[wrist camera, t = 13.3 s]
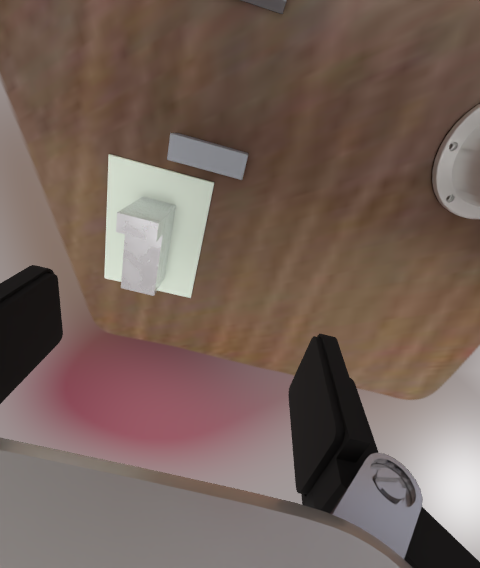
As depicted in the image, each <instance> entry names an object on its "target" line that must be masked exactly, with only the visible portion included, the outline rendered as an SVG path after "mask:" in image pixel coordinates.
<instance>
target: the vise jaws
mask: <svg viewBox="0 0 480 568" xmlns="http://www.w3.org/2000/svg"><path fill="white" fill-rule="evenodd" d="M241 1H244V2H248V3H251V4H254V5H257V6H260V7H263V8H266V9H269V10H272V11H275V12H278V13H281V14H283V11H284V7H285V3H286V0H241ZM247 158H248V153H247V152H243V151H240V150H236V149H233V148H229V147H226V146H222V145H219V144H215V143H211V142H208V141H204V140H201V139H197V138H194V137H190V136H187V135H183V134H180V133H170V141H169V149H168V157H167V160H171V161H174V162H178V163H182V164H185V165H189V166H193V167H196V168H200V169H203V170H207V171H211V172H214V173H218V174H222V175H225V176H229V177H233V178H236V179H240V180H242V178H243V174H244V170H245V166H246V162H247Z"/></svg>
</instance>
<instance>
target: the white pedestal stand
mask: <svg viewBox="0 0 480 568" xmlns="http://www.w3.org/2000/svg"><path fill="white" fill-rule="evenodd" d="M175 210H176V205H173V204H169V203H166V202H162V201H158V200H154V199H151V198H147V197H141V198H139V199H138V200H136V201H135V202H133V203H131V204H130V205H128V206H127V207H125V208H123V209H122V210H120V211H119V212H117V222H116V232H118V233H122V234H125V239H124V252H123V265H122V279H121V288H123V289H127V290H131V291H136V292H140V293H144V294H148V295H153V296H154V295H155V294H156V292H157V290H158V288H159V287H160V285H161V283H162V281H163V280H164V278H165V274H166V267H167V261H168V254H169V248H170V242H171V235H172V229H173V222H174V216H175Z"/></svg>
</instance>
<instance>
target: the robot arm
mask: <svg viewBox="0 0 480 568" xmlns="http://www.w3.org/2000/svg"><path fill="white" fill-rule="evenodd" d="M449 145H450V147H449ZM432 183H433V189H434V193H435V195H436V197H437V199H438V201H439V202H440V203H441V205H442V206H443V207H444V208H445V209H447V210H448V211H450V212H451V213H453V214H456V215H458V216H461V217H464V218H468V219H480V104H478V105H477V106H476V107H474V108H473V109H471V110H470V111H469V112H467V113H466V114H465V115H464V116H463V117H462V118H461V119H460V120H459V121H458V122H457V123H456V124H455V125H454V126H453V128H452V129H451V130H450V132H449V133H448V134H447V136H446V137H445V139H444V141H443V142H442V144H441V146H440V148H439V150H438V153H437V156H436V158H435V162H434V166H433V172H432ZM62 335H63V331H62V320H61V309H60V298H59V287H58V278H57V276H56V275H55V274H54V273H53V271H52V270H51V269H48V268H43V267H40V266H34V265H32V266H29V267H28V268H26V269H24V270H23V271H21V272H19V273H17V274H16V275H14V276H13V277H11V278H9V279H7V280H6V281H4V282H2V283H0V404H1V403H2V402H3V400H4V399H5V398H6V397H7V396H8V395H9V394H10V393H11V392H12V391H13V390H14V389H15V388H16V387H17V386H18V385H19V384H20V383H21V382H22V381H23V380H24V378H25V377H27V376H28V374H29V373H30V372H31V371H32V370H33V369H34V368H35V367H36V366H37V365H38V364H39V363H40V362H41V361H42V360H43V359H44V358H45V357H46V356H47V355H48V354H49V353H50V352H51V350H52V349H53V348H54V347H55V346H56V345H57V344H58V343H59V342H60V340H61V338H62ZM289 407H290V419H291V430H292V443H293V456H294V469H295V481H296V490H297V492H298V493H301V494H302V504H303V505H300V504H298V503H294V502H290V501H285V500H281V499H277V498H273V497H268V496H264V495H260V494H256V493H252V492H248V491H244V490H239V489H235V488H230V487H226V486H221V485H217V484H212V483H208V482H203V481H199V480H194V479H190V478H185V477H181V476H176V475H172V474H167V473H163V472H158V471H154V470H148V469H144V468H140V467H135V466H130V465H125V464H121V463H117V462H112V461H107V460H103V459H98V458H93V457H89V456H84V455H80V454H75V453H70V452H65V451H61V450H56V449H51V448H47V447H42V446H37V445H33V444H28V443H23V442H18V441H13V440H9V439H4V438H0V568H480V562H479V561H478V560H477V559H476V558H475V557H474V556H473V555H472V554H471V553H470V552H469V551H467V550H466V549H465V548H464V547H463V546H462V545H461V544H460V543H459V542H458V541H457V540H456V539H455V538H454V537H453V536H452V535H451V534H450V533H449V532H448V531H447V530H446V529H444V528H443V527H442V526H441V525H440V524H439V523H438V522H437V521H436V520H435V519H434V518H433V517H432V516H431V515H430V514H429V513H428V512H427V511H426V510H425V509H424V508H423V507H422V494H421V490H420V488H419V486H418V484H417V482H416V480H415V479H414V477H413V476H412V474H411V473H410V472H409V470H408V469H407V468H406V467H405V466H404V465H403V464H402V463H400V462H399V461H397V460H396V459H395V458H393V457H391V456H389V455H386V454H382V453H378V450H377V447H376V444H375V441H374V438H373V435H372V433H371V429H370V427H369V424H368V421H367V418H366V415H365V412H364V409H363V406H362V403H361V400H360V397H359V394H358V391H357V389H356V386H355V383H354V381H353V380H352V379H351V378H349V375H348V372H347V369H346V366H345V363H344V360H343V357H342V354H341V350H340V347H339V344H338V341H337V339H336V338H335V337H332V336H328V335H324V334H319V335H318V336H317V337H315V336H314V337H313V338H312V339H311V341H310V344H309V346H308V348H307V350H306V352H305V355H304V357H303V359H302V361H301V363H300V365H299V368H298V370H297V372H296V374H295V376H294V379H293V381H292V383H291V385H290V388H289Z"/></svg>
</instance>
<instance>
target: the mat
mask: <svg viewBox="0 0 480 568" xmlns="http://www.w3.org/2000/svg"><path fill="white" fill-rule="evenodd" d="M213 187H214V182H212V181H208V180H204V179H200V178H197V177H193V176H189V175H186V174H182V173H178V172H175V171H171V170H167V169H164V168H160V167H156V166H152V165H149V164H145V163H141V162H138V161H134V160H130V159H127V158H123V157H119V156H116V155H112V154H109V160H108V189H107V218H106V247H105V276H104V278H106V279H110V280H115V281H119V282H121V279H122V265H123V252H124V239H125V234H122V233H118V232H116V222H117V212H119V211H120V210H122V209H123V208H125V207H127V206H128V205H130V204H131V203H133V202H135V201H136V200H138V199H139V198H141V197H147V198H151V199H154V200H158V201H162V202H166V203H169V204H173V205H176V210H175V216H174V222H173V229H172V235H171V242H170V248H169V254H168V261H167V267H166V274H165V278H164V280H163V281H162V283H161V285H160V287H159V288H158V291H162V292H166V293H171V294H175V295H179V296H184V297H188V298H191V295H192V290H193V285H194V280H195V275H196V271H197V266H198V261H199V256H200V251H201V246H202V241H203V236H204V231H205V226H206V222H207V217H208V212H209V207H210V202H211V197H212V192H213Z"/></svg>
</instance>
